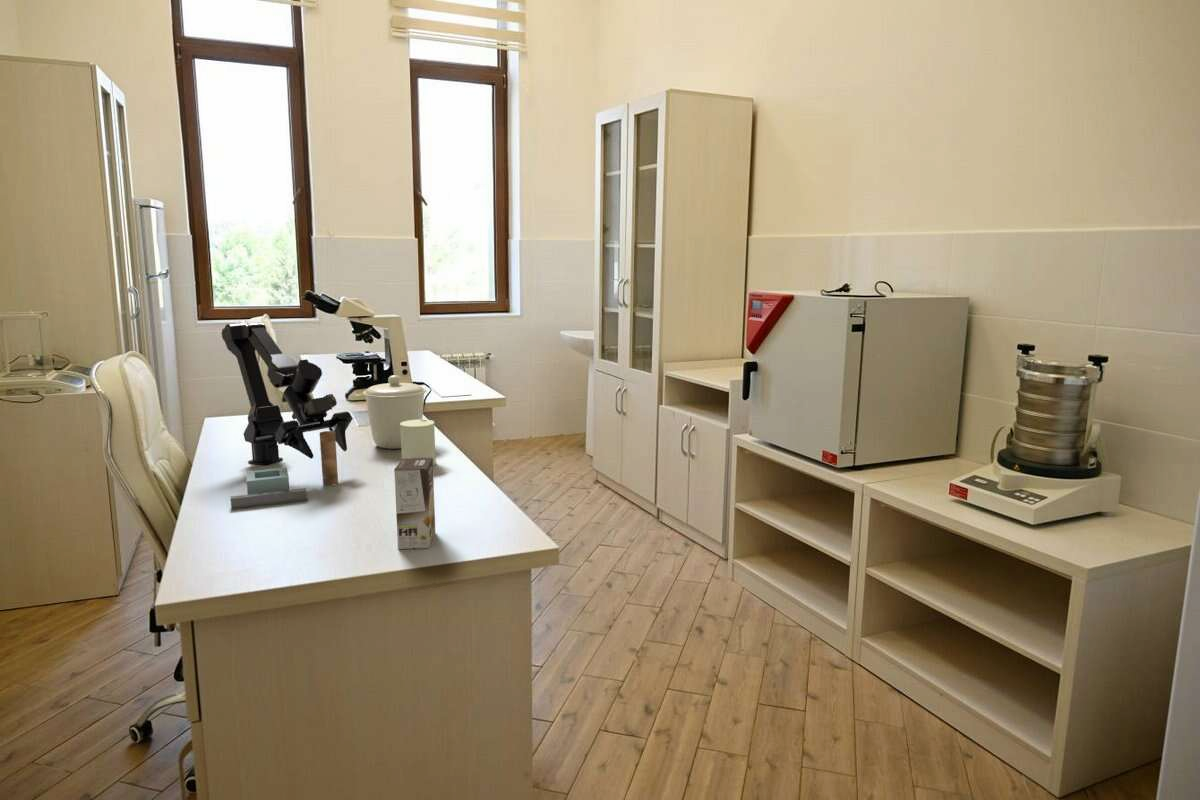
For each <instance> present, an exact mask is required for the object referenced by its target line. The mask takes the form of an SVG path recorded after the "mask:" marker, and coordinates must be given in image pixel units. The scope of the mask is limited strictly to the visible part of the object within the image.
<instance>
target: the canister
mask: <svg viewBox="0 0 1200 800" xmlns="http://www.w3.org/2000/svg"><path fill="white" fill-rule="evenodd" d="M401 380H402V379H401V377H400V376H399V375H396V374H393V375H390V376H389V377H388V379H387V381H388V382H387V383H380V384H379V383H378V384H375V385H372V386H370V387H369V386H368V388H366V390H364V391H362V394H363V396H364V397H365V403H366V407H367V413H368V420H369V425H370V426H369V427H370V430H371V435H372V440H373V442H374V443H375V445H376V446H377V447H379V448H381V449H386V448H387V449H388V450H390V449H391V450H399V449H401V450H402V447H401V429H400V423H401V422H404V421H408V420H417V419H424V418H423V417H424V416H423V415H424V403H425V401H424V400H425V394H426V393H427V389H426V388H425V387H423V386H421V385H420V384H416V383H413V382H412V383H410V382H401ZM387 449H386V450H387Z"/></svg>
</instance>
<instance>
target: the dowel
mask: <svg viewBox="0 0 1200 800" xmlns="http://www.w3.org/2000/svg"><path fill="white" fill-rule="evenodd" d="M336 444H337V442H336V440H335V432H334V431H330V430H326V431H325V430H324V431H321V432H319V446H320V447H319V448H320V458H321V459H320V460H321V461H320V462H321V475H322V485H323V484H324V485H323V486H325V485H331V486H334V485H333V484H336V485H338V484H339V475H338V473H339V472H338V471H339V470H338V459H337V458H338V457H337V447H336V446H337V445H336ZM337 483H338V484H337Z"/></svg>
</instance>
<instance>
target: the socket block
mask: <svg viewBox="0 0 1200 800" xmlns="http://www.w3.org/2000/svg"><path fill="white" fill-rule="evenodd" d="M246 489H247V495H248V494H257V493H266V492H275V491H284V490H291V489H290V479H289V472H288V468H287V467H278V468H271V469H270V468H269V469H267V468H266V469H258V470H247V471H246Z"/></svg>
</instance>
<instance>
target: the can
mask: <svg viewBox="0 0 1200 800" xmlns="http://www.w3.org/2000/svg"><path fill="white" fill-rule="evenodd" d="M435 424H436V423H435V421H434V420H432V419H431V420H430V419H425V418H423V419H417V420H408V421H404V422H401V423H400V429H401V447H402V448H401V460H402V459H406V458H433V467H434V466H436V465H435V464H437V459H436V457H437V455H436V436H435V435H436V434H435Z"/></svg>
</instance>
